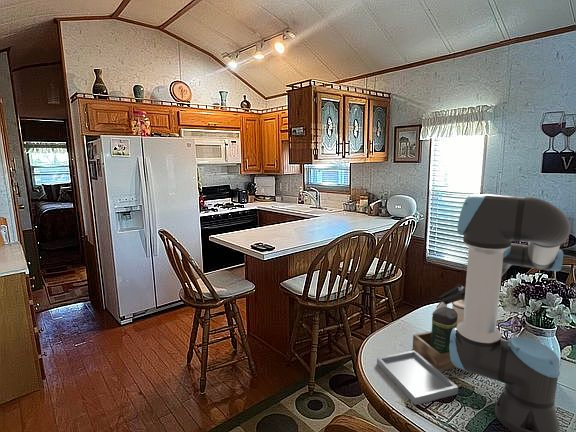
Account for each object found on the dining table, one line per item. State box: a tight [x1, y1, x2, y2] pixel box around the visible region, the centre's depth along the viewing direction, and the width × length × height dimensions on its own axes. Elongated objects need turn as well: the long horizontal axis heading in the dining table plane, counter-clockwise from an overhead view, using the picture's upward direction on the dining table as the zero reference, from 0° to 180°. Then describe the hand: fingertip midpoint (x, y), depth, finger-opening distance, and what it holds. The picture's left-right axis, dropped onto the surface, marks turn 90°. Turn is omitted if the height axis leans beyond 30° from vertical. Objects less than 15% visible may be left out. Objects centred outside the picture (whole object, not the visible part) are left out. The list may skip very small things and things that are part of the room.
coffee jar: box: [430, 306, 458, 354], centre depth 131 cm, size 10×8×19 cm
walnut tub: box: [412, 330, 457, 372], centre depth 132 cm, size 15×15×6 cm
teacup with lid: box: [451, 300, 465, 325], centre depth 158 cm, size 12×9×12 cm
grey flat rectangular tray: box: [376, 349, 459, 406], centre depth 120 cm, size 22×16×2 cm
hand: (446, 324), depth 131 cm, fingers open, 13 cm apart
